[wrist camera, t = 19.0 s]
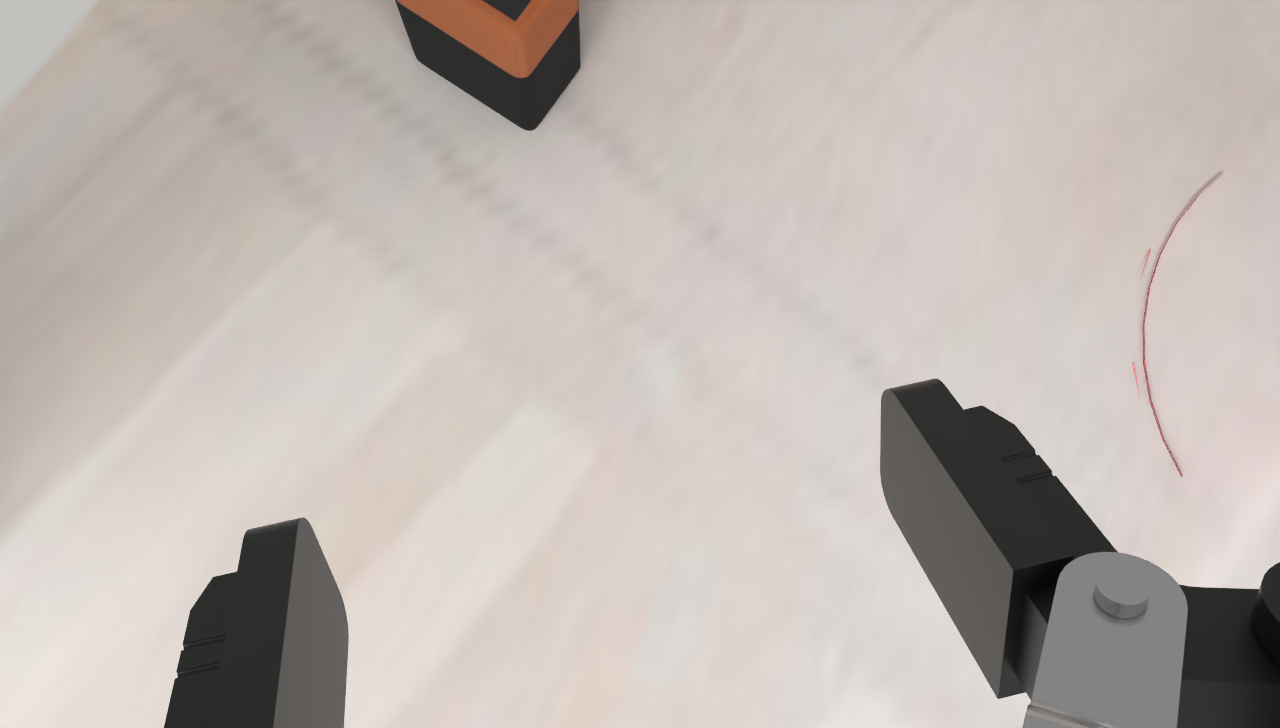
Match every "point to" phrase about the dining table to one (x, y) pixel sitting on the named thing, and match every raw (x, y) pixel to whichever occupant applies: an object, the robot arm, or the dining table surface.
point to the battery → (499, 50)
